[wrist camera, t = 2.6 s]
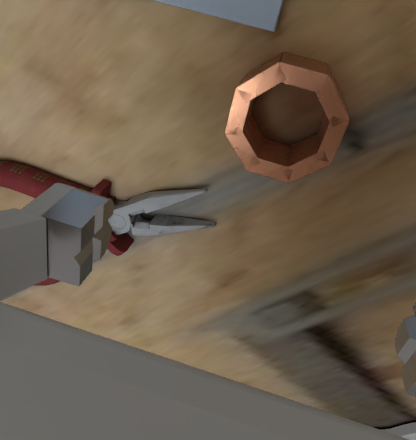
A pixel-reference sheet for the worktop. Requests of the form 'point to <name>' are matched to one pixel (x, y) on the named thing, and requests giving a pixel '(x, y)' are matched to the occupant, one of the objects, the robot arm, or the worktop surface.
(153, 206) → the pliers
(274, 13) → the shaft block
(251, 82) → the ring
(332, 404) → the worktop surface
